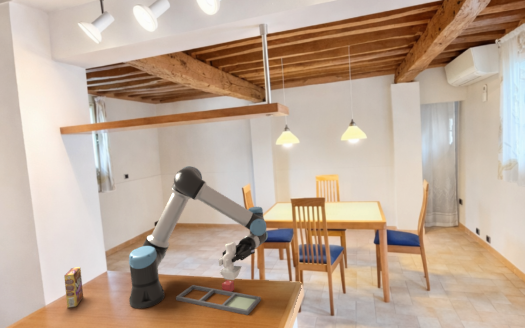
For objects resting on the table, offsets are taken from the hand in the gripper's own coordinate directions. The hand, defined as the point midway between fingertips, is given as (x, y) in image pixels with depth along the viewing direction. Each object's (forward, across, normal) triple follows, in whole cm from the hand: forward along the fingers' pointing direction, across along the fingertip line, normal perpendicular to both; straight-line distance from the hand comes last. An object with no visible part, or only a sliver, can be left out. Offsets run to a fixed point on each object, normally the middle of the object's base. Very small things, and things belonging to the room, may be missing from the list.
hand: (223, 263), depth 130 cm
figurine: (-6, 0, -9) cm, 11 cm away
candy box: (+18, +72, -19) cm, 77 cm away
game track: (-4, +8, -20) cm, 21 cm away
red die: (-13, +7, -20) cm, 25 cm away
